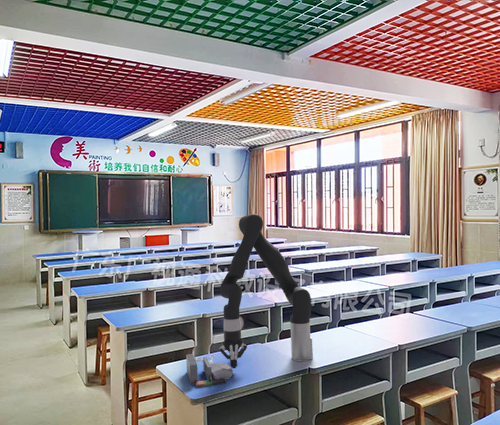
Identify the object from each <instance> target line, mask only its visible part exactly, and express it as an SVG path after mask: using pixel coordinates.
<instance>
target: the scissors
mask: <svg viewBox="0 0 500 425" xmlns="http://www.w3.org/2000/svg"><path fill="white" fill-rule="evenodd" d="M208 357H209V359H210V360H208V361H209V363H210V364H212V363H214V362H213V361H214V358H216V355H215V354H210V355H209V356H208ZM195 360H196V362H203V357H198V358H197V357H196V358H195Z"/></svg>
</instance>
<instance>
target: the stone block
mask: <svg viewBox="0 0 500 425" xmlns="http://www.w3.org/2000/svg"><path fill="white" fill-rule="evenodd" d="M210 365H211V374H212V380H214V379H221V378H224V379H225V380H229V379H230V378H231V377H232V376H233V374H234V371H233V370H234V369H233V368H232V367H231V366H230V365H229V364H228V363H226V362H219V361H218V362H213V363H212V364H210Z"/></svg>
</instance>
